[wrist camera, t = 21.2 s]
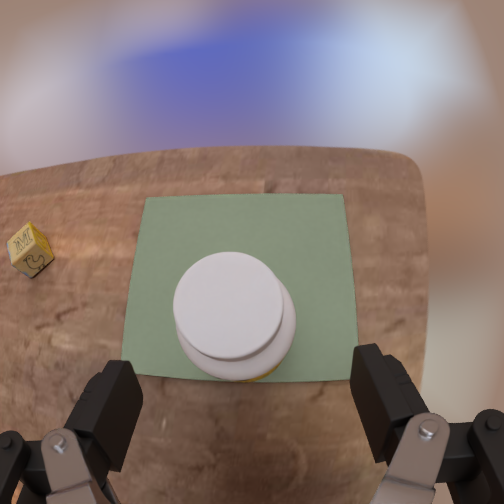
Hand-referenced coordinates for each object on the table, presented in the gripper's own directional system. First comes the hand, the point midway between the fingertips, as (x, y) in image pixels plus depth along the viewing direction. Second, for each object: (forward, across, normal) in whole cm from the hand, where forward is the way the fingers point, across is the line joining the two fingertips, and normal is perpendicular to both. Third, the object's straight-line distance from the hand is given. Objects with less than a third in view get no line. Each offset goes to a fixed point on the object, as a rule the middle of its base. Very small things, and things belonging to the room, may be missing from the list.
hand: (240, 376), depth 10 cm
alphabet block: (+14, +19, -1) cm, 23 cm away
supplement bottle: (+8, 0, +5) cm, 10 cm away
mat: (+12, +1, +2) cm, 12 cm away
